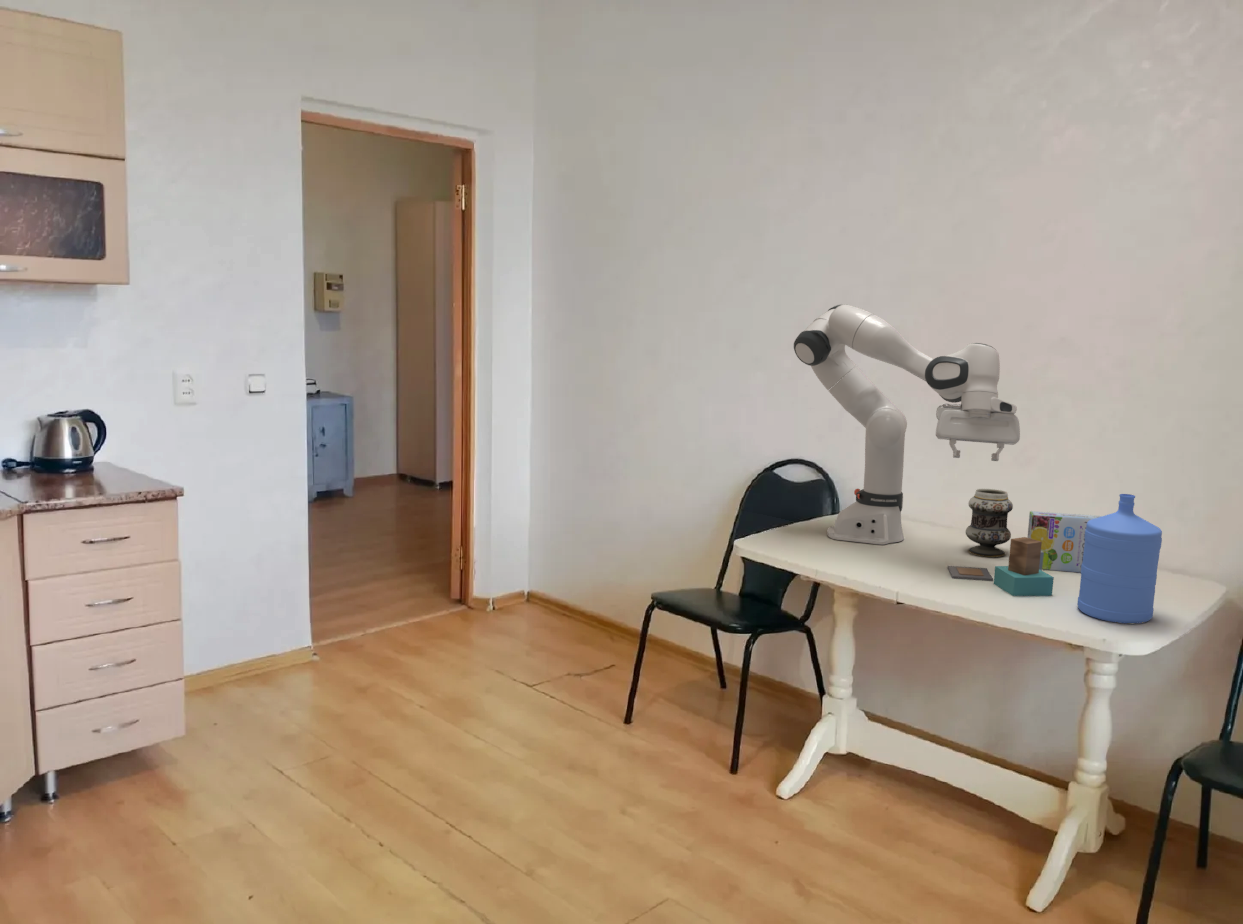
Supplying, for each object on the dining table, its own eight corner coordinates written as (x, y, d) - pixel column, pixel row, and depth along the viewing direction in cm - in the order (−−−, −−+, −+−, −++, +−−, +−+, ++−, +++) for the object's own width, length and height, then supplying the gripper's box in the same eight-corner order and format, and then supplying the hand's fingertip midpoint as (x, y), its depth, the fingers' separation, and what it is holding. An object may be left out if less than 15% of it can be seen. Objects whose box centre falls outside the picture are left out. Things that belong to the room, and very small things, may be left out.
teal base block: (1012, 597, 234) (1014, 577, 233) (993, 585, 244) (995, 566, 243) (1051, 596, 235) (1053, 577, 234) (1031, 584, 245) (1032, 565, 244)
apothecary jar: (1002, 548, 279) (1007, 487, 276) (1014, 559, 267) (1020, 496, 264) (959, 546, 280) (964, 486, 277) (969, 557, 268) (975, 494, 265)
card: (952, 578, 248) (952, 575, 248) (947, 567, 257) (947, 564, 257) (993, 581, 246) (993, 578, 246) (986, 570, 256) (986, 567, 255)
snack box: (1109, 570, 258) (1115, 515, 255) (1113, 576, 253) (1120, 520, 250) (1024, 563, 264) (1029, 509, 261) (1027, 568, 258) (1032, 514, 256)
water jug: (1131, 629, 211) (1145, 505, 207) (1063, 610, 224) (1075, 492, 219) (1165, 616, 221) (1179, 497, 216) (1098, 598, 233) (1110, 485, 228)
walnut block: (1007, 570, 239) (1010, 539, 238) (1021, 567, 242) (1024, 536, 240) (1024, 575, 235) (1027, 543, 234) (1038, 573, 237) (1041, 541, 236)
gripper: (939, 400, 245) (935, 454, 244) (1023, 406, 242) (1020, 460, 240) (935, 405, 252) (931, 457, 250) (1017, 411, 248) (1013, 464, 247)
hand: (975, 459), depth 245 cm, fingers open, 8 cm apart
